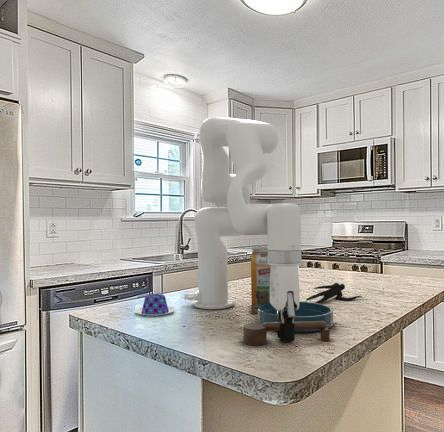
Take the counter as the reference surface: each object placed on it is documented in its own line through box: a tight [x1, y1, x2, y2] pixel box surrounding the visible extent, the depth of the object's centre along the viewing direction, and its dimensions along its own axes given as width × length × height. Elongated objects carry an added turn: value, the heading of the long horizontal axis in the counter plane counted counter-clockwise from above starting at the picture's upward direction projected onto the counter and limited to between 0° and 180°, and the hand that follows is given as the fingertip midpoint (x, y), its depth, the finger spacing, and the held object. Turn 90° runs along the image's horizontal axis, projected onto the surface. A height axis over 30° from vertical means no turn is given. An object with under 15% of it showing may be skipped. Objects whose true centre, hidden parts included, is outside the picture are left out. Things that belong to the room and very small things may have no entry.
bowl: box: [257, 300, 334, 334], centre depth 109 cm, size 19×19×4 cm
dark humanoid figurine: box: [305, 282, 363, 304], centre depth 135 cm, size 8×9×25 cm
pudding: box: [134, 293, 176, 317], centre depth 124 cm, size 12×12×5 cm
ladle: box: [242, 321, 331, 346], centre depth 93 cm, size 19×5×4 cm, turn 93°
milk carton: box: [250, 246, 271, 314], centre depth 126 cm, size 10×11×19 cm
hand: (285, 338), depth 93 cm, fingers closed on ladle
